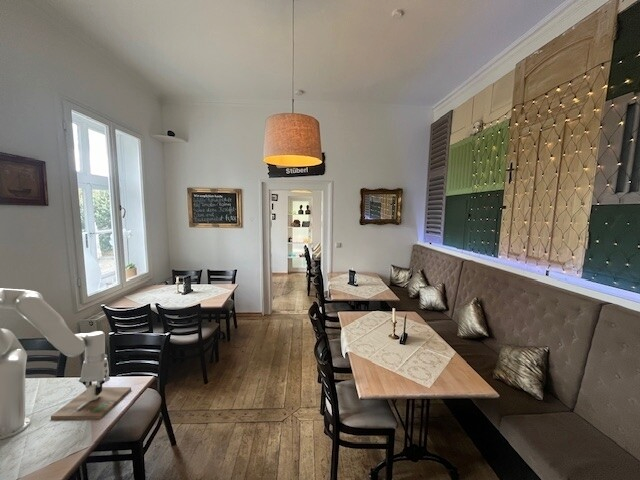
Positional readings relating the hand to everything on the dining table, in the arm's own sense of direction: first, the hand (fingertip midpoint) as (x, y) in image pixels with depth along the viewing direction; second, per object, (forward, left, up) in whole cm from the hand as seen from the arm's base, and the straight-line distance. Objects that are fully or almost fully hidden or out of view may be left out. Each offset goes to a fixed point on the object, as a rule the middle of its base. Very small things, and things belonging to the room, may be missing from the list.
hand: (94, 393), depth 132 cm
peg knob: (-3, 0, -2) cm, 4 cm away
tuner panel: (-1, -1, -4) cm, 4 cm away
